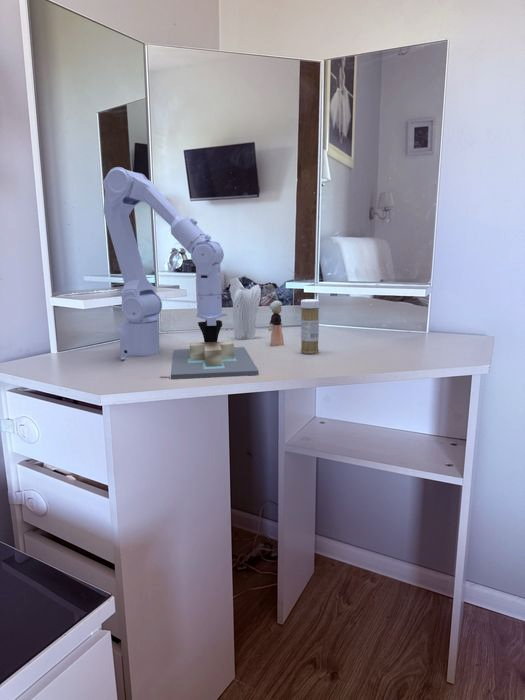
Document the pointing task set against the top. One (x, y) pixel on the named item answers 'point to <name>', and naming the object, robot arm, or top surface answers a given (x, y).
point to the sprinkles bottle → (309, 326)
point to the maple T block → (212, 352)
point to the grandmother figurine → (276, 324)
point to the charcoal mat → (198, 369)
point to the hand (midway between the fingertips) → (211, 351)
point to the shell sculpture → (244, 309)
